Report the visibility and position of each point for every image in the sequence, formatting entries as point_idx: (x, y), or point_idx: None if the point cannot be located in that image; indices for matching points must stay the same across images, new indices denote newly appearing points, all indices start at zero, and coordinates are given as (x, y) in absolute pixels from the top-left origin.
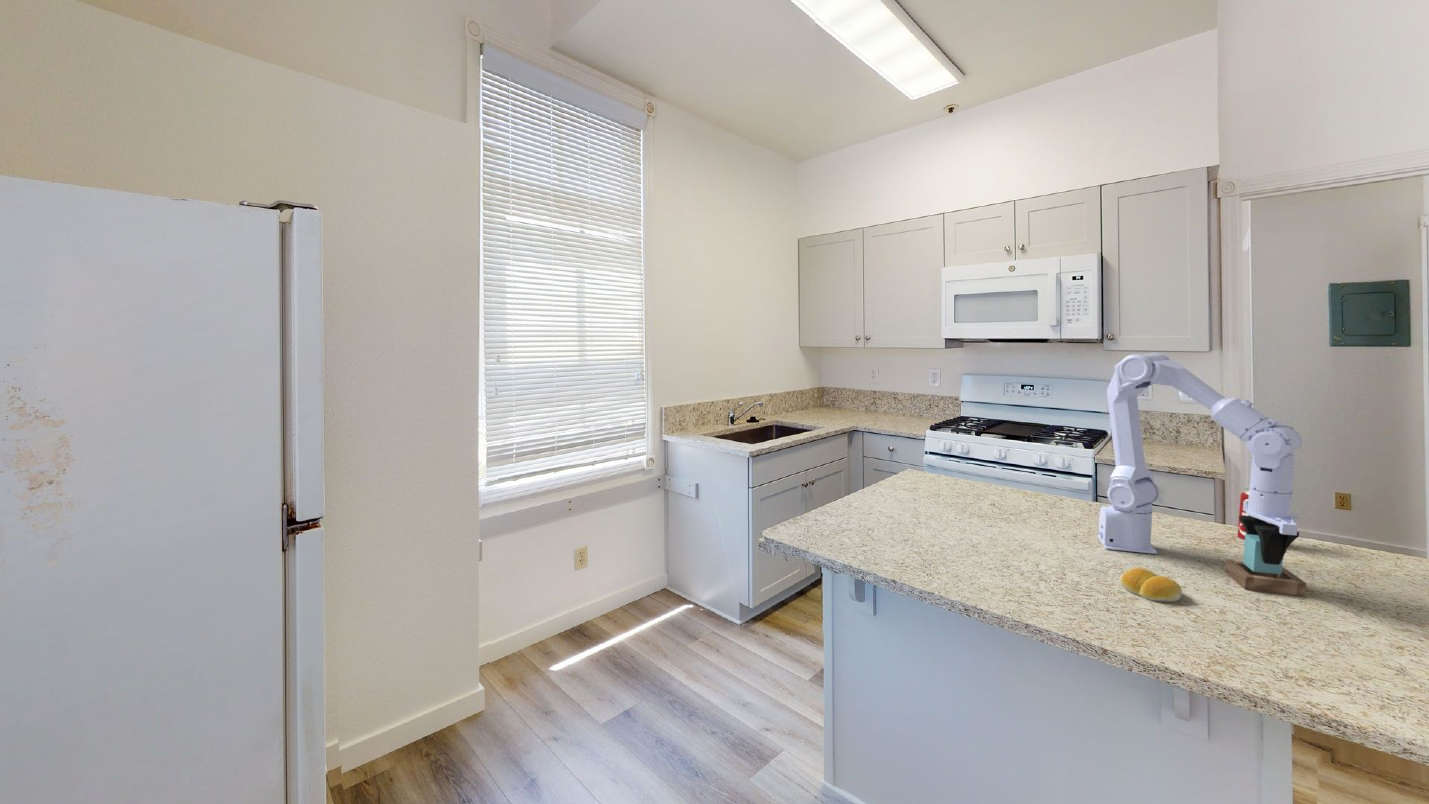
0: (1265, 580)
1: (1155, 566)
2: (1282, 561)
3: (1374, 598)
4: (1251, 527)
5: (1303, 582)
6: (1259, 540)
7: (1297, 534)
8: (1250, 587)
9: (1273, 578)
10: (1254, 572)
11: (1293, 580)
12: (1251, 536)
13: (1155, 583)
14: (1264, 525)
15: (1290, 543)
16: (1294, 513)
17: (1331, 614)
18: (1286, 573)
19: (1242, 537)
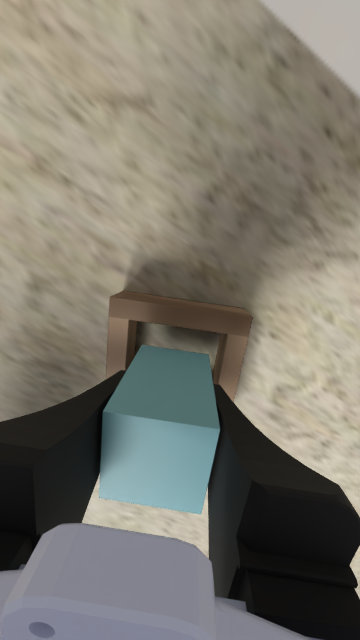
0: (232, 397)
1: (122, 505)
2: (211, 376)
3: (227, 118)
4: (77, 520)
5: (246, 320)
6: (187, 495)
7: (357, 516)
8: None
9: (227, 380)
10: (131, 355)
11: (234, 338)
12: (132, 495)
13: None
14: (65, 494)
15: (280, 450)
16: (53, 617)
17: (343, 316)
18: (178, 322)
19: None
